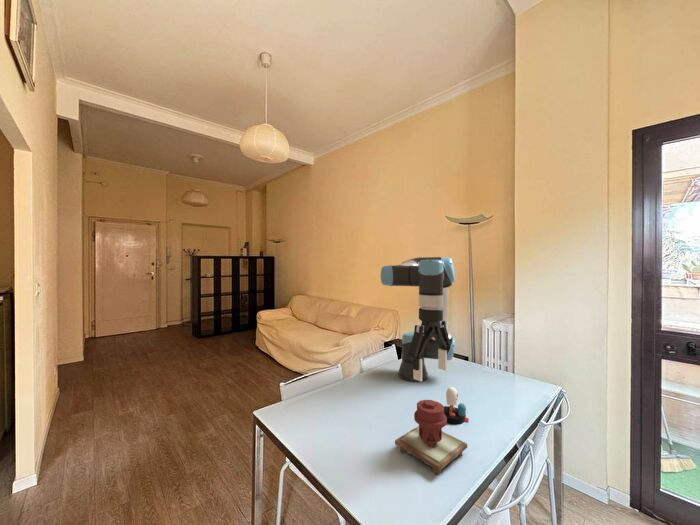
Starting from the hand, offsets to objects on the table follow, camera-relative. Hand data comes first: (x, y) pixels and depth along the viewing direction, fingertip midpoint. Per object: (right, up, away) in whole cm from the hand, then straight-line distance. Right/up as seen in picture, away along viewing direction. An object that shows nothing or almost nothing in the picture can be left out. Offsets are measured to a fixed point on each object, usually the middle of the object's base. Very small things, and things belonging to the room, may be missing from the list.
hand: (430, 374), depth 92 cm
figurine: (+14, -25, +20) cm, 35 cm away
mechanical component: (0, -21, 0) cm, 21 cm away
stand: (0, -25, 0) cm, 25 cm away
